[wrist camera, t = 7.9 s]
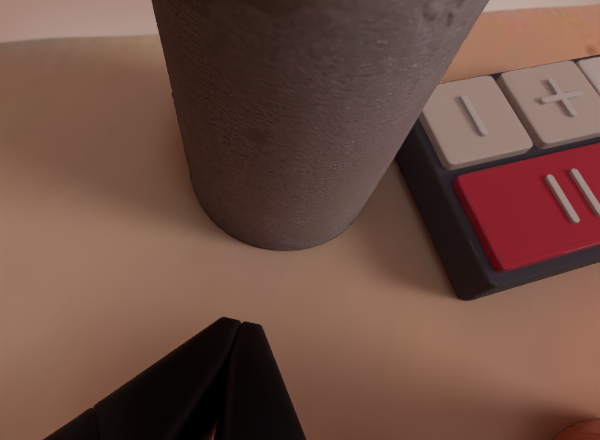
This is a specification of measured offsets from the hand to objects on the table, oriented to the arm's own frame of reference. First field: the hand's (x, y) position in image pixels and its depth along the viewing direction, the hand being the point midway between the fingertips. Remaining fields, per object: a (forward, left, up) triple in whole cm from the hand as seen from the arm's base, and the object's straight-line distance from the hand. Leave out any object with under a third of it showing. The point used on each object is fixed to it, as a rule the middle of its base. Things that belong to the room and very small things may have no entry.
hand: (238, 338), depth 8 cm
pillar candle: (+9, -4, -10) cm, 14 cm away
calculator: (+5, -18, -10) cm, 21 cm away
